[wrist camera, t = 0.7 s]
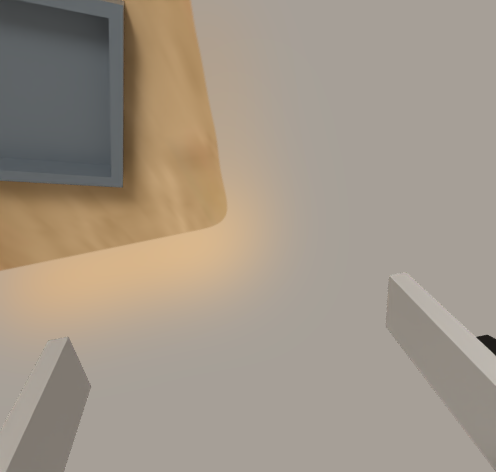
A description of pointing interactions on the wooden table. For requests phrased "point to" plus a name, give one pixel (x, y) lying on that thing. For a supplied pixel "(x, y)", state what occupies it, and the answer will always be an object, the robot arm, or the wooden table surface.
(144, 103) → the wooden table surface
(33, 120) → the tray
